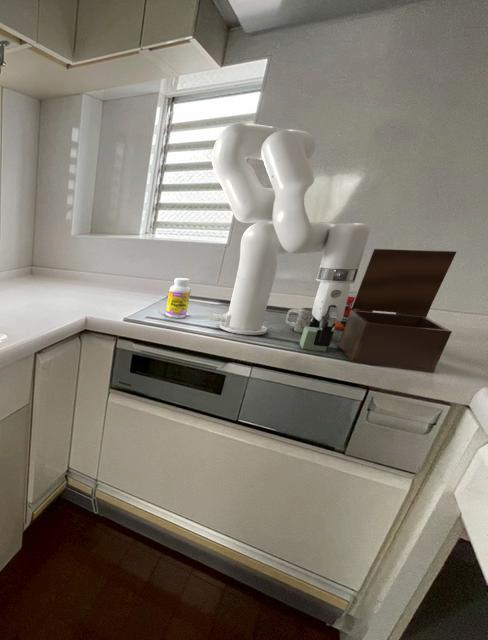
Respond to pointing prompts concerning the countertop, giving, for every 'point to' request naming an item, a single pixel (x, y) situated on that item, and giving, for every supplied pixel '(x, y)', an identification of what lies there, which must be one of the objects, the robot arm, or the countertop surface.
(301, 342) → the block
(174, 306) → the supplement bottle
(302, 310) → the mug
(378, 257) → the lid
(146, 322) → the countertop surface
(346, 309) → the canned food
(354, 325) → the chest
